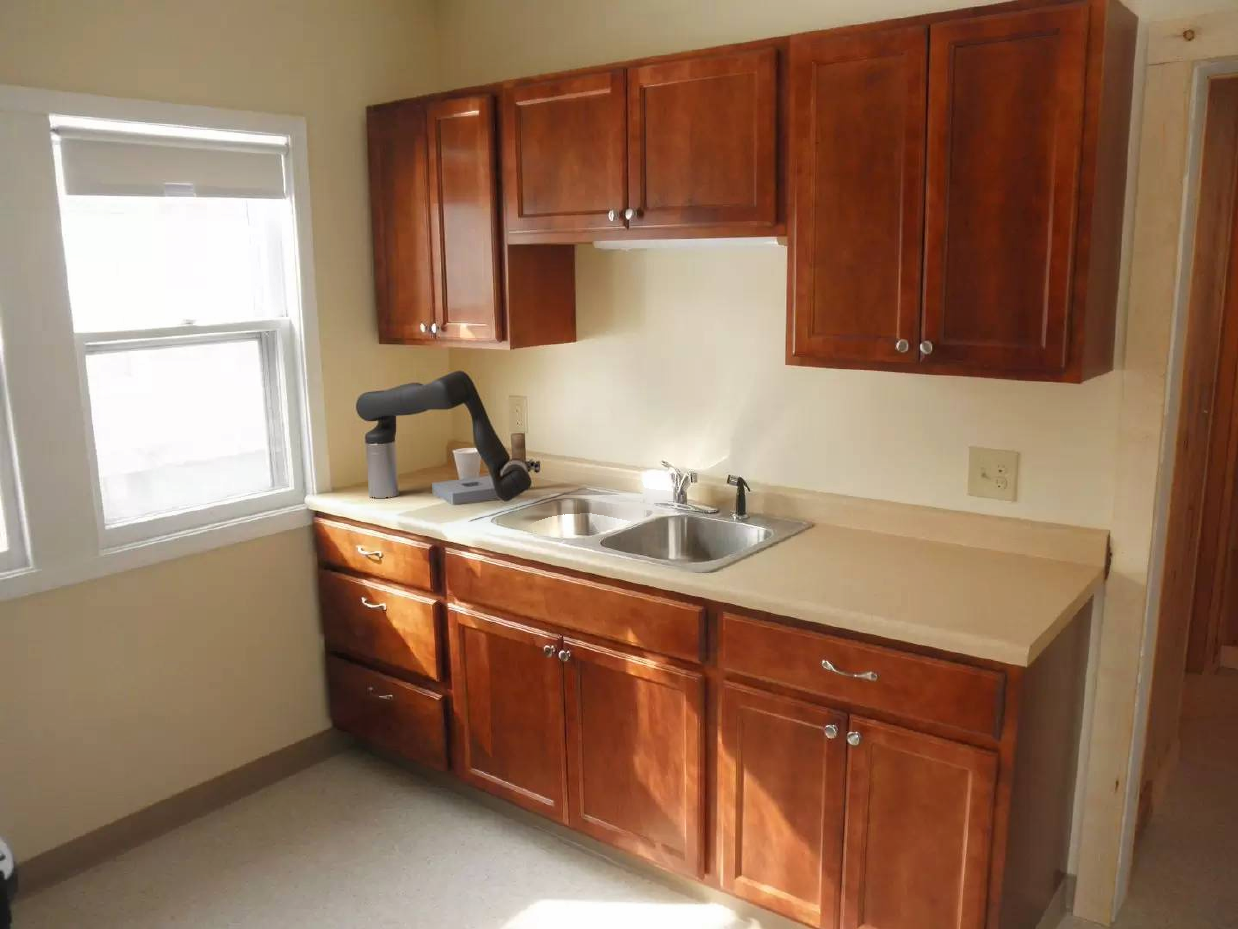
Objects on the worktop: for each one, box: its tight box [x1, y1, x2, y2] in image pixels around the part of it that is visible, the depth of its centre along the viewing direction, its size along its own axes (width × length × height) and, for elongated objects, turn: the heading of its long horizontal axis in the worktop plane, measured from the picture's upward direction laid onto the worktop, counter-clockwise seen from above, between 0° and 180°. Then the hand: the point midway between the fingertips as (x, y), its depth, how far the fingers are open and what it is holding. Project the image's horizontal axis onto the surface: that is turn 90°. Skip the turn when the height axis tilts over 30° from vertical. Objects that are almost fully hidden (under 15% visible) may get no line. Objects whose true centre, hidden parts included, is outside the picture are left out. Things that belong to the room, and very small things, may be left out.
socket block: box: [431, 475, 500, 506], centre depth 323 cm, size 20×20×4 cm
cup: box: [452, 447, 482, 480], centre depth 342 cm, size 10×10×11 cm
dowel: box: [510, 432, 527, 461], centre depth 329 cm, size 4×4×18 cm
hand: (517, 463), depth 321 cm, fingers open, 8 cm apart
